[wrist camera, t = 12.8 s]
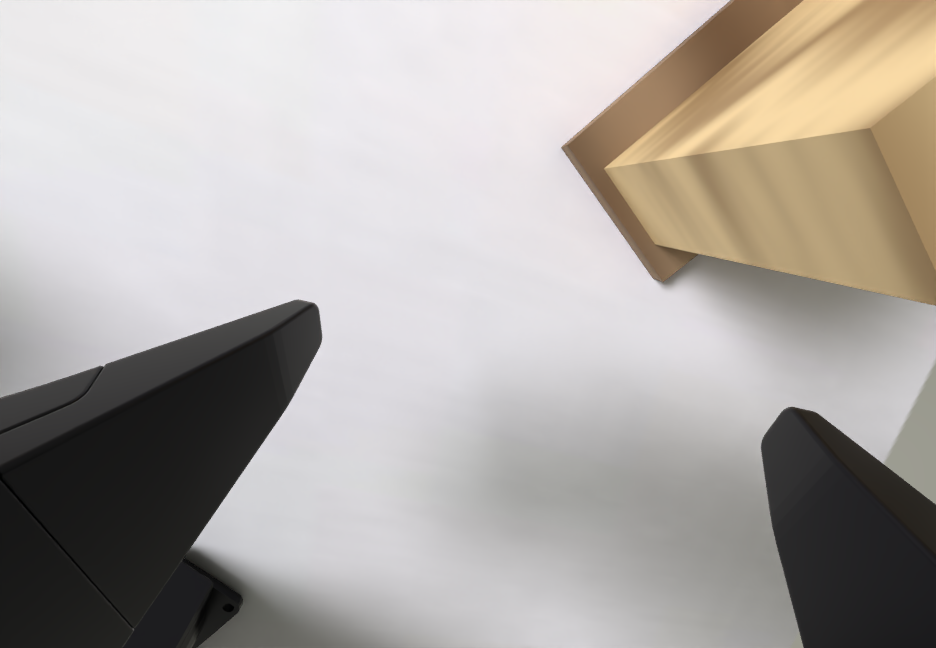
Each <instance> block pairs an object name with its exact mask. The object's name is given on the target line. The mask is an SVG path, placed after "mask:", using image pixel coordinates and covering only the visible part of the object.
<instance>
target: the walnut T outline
mask: <svg viewBox="0 0 936 648" xmlns="http://www.w3.org/2000/svg"><path fill="white" fill-rule="evenodd" d="M802 1H803V0H731V1H729V2H728V3H727V4H726V5H725V6H724V7H722V8H721V9H720V10H719V11H718V12H717V13H716V14H714V15H713V16H712V17H711V18H710V19H709V20H708V21H706V22H705V23H704V24H703V25H702V26H701V27H699V28H698V29H697V30H696V31H695V32H694V33H693V34H691V35H690V36H689V37H688V38H687V39H686V40H684V41H683V42H682V43H681V44H680V45H679V46H678V47H676V48H675V49H674V50H673V51H672V52H671V53H669V54H668V55H667V56H666V57H665V58H664V59H663V60H661V61H660V62H659V63H658V64H657V65H656V66H654V67H653V68H652V69H651V70H650V71H649V72H648V73H646V74H645V75H644V76H643V77H642V78H641V79H639V80H638V81H637V82H636V83H635V84H634V85H633V86H631V87H630V88H629V89H628V90H627V91H626V92H625V93H623V94H622V95H621V96H620V97H619V98H618V99H616V100H615V101H614V102H613V103H612V104H611V105H610V106H608V107H607V108H606V109H605V110H604V111H603V112H601V113H600V114H599V115H598V116H597V117H596V118H595V119H593V120H592V121H591V122H590V123H589V124H588V125H586V126H585V127H584V128H583V129H582V130H581V131H580V132H578V133H577V134H576V135H575V136H574V137H573V138H571V139H570V140H569V141H568V142H567V143H566V144H565V145H563V146H562V147H561V148H562V149H563V151H564V152H565V154H566V155H567V156H568V158H569V159H570V161H571V162H572V164H573V165H574V166H575V168H576V169H577V171H578V172H579V174H580V175H581V176H582V178H583V179H584V181H585V182H586V183H587V185H588V186H589V188H590V189H591V191H592V192H593V193H594V195H595V196H596V198H597V199H598V201H599V202H600V203H601V205H602V206H603V208H604V209H605V211H606V212H607V213H608V215H609V216H610V218H611V219H612V221H613V222H614V223H615V225H616V226H617V228H618V229H619V231H620V232H621V233H622V235H623V236H624V238H625V239H626V240H627V242H628V243H629V245H630V246H631V248H632V249H633V250H634V252H635V253H636V255H637V256H638V258H639V259H640V260H641V262H642V263H643V265H644V266H645V268H646V269H647V270H648V272H649V273H650V275H651V276H652V278H653V279H656V280H659V281H661V282H664V281H665V280H666V279H668V278H669V277H670V276H671V275H673V274H674V273H675V272H677V271H678V270H679V269H680V268H682V267H683V266H684V265H685V264H687V263H688V262H689V261H690V260H692V259H693V258H694V257H695V256H697V255H698V254H697V253H692V252H688V251H683V250H679V249H674V248H669V247H665V246H660V245H656V244H654V242H653V241H652V239H651V238H650V236H649V235H648V233H647V232H646V230H645V229H644V227H643V226H642V224H641V223H640V222H639V220H638V219H637V217H636V216H635V214H634V213H633V211H632V210H631V208H630V207H629V205H628V204H627V202H626V201H625V199H624V198H623V196H622V195H621V193H620V192H619V190H618V189H617V187H616V186H615V185H614V183H613V182H612V180H611V179H610V177H609V176H608V174H607V173H606V171H605V170H604V168H605V167H606V166H608V165H609V164H610V163H611V162H612V161H613V160H615V159H616V158H617V157H618V156H619V155H621V154H622V153H623V152H624V151H625V150H627V149H628V148H629V147H630V146H631V145H632V144H634V143H635V142H636V141H637V140H638V139H640V138H641V137H642V136H643V135H644V134H646V133H647V132H648V131H649V130H650V129H651V128H653V127H654V126H655V125H656V124H657V123H659V122H660V121H661V120H662V119H663V118H664V117H666V116H667V115H668V114H669V113H670V112H672V111H673V110H674V109H675V108H676V107H678V106H679V105H680V104H681V103H682V102H683V101H685V100H686V99H687V98H688V97H689V96H691V95H692V94H693V93H694V92H695V91H697V90H698V89H699V88H700V87H701V86H702V85H704V84H705V83H706V82H707V81H708V80H710V79H711V78H712V77H713V76H714V75H716V74H717V73H718V72H719V71H720V70H721V69H723V68H724V67H725V66H726V65H727V64H729V63H730V62H731V61H732V60H733V59H735V58H736V57H737V56H738V55H739V54H740V53H742V52H743V51H744V50H745V49H746V48H748V47H749V46H750V45H751V44H752V43H753V42H755V41H756V40H757V39H758V38H759V37H761V36H762V35H763V34H764V33H765V32H767V31H768V30H769V29H770V28H771V27H772V26H774V25H775V24H776V23H777V22H778V21H780V20H781V19H782V18H783V17H784V16H786V15H787V14H788V13H789V12H790V11H791V10H793V9H794V8H795V7H796V6H797V5H799V4H800V3H801V2H802Z"/></svg>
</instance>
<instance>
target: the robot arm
mask: <svg viewBox="0 0 936 648" xmlns="http://www.w3.org/2000/svg"><path fill="white" fill-rule="evenodd" d="M321 341H322V330H321V322H320V314H319V309H318V306H317V305H316V304H315V303H312V302H307V301H303V300H294V301H291V302H288V303H285V304H282V305H279V306H276V307H273V308H270V309H267V310H264V311H261V312H258V313H255V314H252V315H249V316H246V317H243V318H240V319H238V320H235V321H232V322H229V323H226V324H223V325H220V326H217V327H214V328H211V329H208V330H205V331H202V332H199V333H196V334H193V335H190V336H187V337H184V338H181V339H179V340H176V341H173V342H170V343H167V344H164V345H161V346H158V347H155V348H152V349H149V350H146V351H143V352H140V353H137V354H134V355H131V356H128V357H125V358H123V359H120V360H117V361H114V362H111V363H108V364H106V365H105V366H104V367H103V366H98V367H96V368H93V369H90V370H87V371H84V372H81V373H78V374H75V375H72V376H69V377H66V378H63V379H60V380H57V381H54V382H51V383H47V384H44V385H41V386H38V387H35V388H32V389H28V390H25V391H22V392H18V393H15V394H12V395H8V396H5V397H2V398H0V648H197V647H198V646H199V645H200V644H202V643H203V642H204V641H205V640H206V639H208V638H209V637H210V636H211V635H212V634H213V633H215V632H216V631H217V630H218V629H219V628H220V627H222V626H223V625H224V624H225V623H226V622H227V621H229V620H230V619H231V618H232V617H233V616H234V615H236V614H237V613H238V611H239V610H240V607H241V605H242V603H243V599H242V597H241V596H240V595H239V594H238V593H236V592H235V591H233V590H232V589H230V588H229V587H227V586H226V585H224V584H223V583H221V582H220V581H218V580H217V579H215V578H213V577H212V576H210V575H209V574H207V573H206V572H204V571H203V570H201V569H200V568H198V567H197V566H195V565H194V564H192V563H190V562H189V561H187V560H186V559H184V557H185V555H186V554H187V552H188V551H189V549H190V548H191V546H192V545H193V544H194V542H195V541H196V539H197V538H198V536H199V535H200V533H201V532H202V530H203V529H204V528H205V526H206V525H207V523H208V522H209V520H210V519H211V517H212V516H213V514H214V513H215V512H216V510H217V509H218V507H219V506H220V504H221V503H222V501H223V500H224V498H225V497H226V496H227V494H228V493H229V491H230V490H231V488H232V487H233V485H234V484H235V482H236V481H237V480H238V478H239V477H240V475H241V474H242V472H243V471H244V469H245V468H246V466H247V465H248V464H249V462H250V461H251V459H252V458H253V456H254V455H255V453H256V452H257V450H258V449H259V448H260V446H261V445H262V443H263V442H264V440H265V439H266V437H267V436H268V434H269V433H270V432H271V430H272V429H273V427H274V426H275V424H276V423H277V421H278V420H279V418H280V417H281V416H282V414H283V413H284V411H285V409H286V408H287V406H288V405H289V403H290V401H291V400H292V398H293V396H294V394H295V392H296V391H297V389H298V387H299V385H300V383H301V381H302V379H303V377H304V376H305V374H306V372H307V370H308V368H309V366H310V364H311V362H312V361H313V359H314V357H315V355H316V353H317V351H318V349H319V347H320V345H321ZM761 452H762V459H763V466H764V473H765V480H766V487H767V494H768V501H769V509H770V515H771V521H772V527H773V531H774V536H775V540H776V544H777V548H778V552H779V555H780V559H781V563H782V567H783V571H784V575H785V578H786V582H787V586H788V590H789V594H790V597H791V601H792V605H793V609H794V613H795V616H796V620H797V624H798V628H799V632H800V636H801V639H802V643H803V647H804V648H936V505H935V504H934V503H933V502H932V501H930V500H929V499H928V498H926V497H925V496H924V495H922V494H921V493H920V492H919V491H917V490H916V489H915V488H913V487H912V486H911V485H910V484H908V483H907V482H906V481H904V480H903V479H902V478H901V477H899V476H898V475H897V474H895V473H894V472H893V471H891V470H890V469H889V468H888V467H886V466H885V465H884V464H882V463H881V462H880V461H879V460H877V459H876V458H875V457H873V456H872V455H871V454H869V453H868V452H867V451H866V450H864V449H863V448H862V447H860V446H859V445H858V444H857V443H855V442H854V441H853V440H851V439H850V438H849V437H847V436H846V435H845V434H844V433H842V432H841V431H840V430H838V429H837V428H836V427H835V426H833V425H832V424H831V423H829V422H828V421H827V420H825V419H824V418H823V417H822V416H820V415H819V414H818V413H816V412H813V411H809V410H805V409H800V408H796V407H788V408H786V409H784V410H783V411H782V412H781V414H780V415H779V416H778V418H777V419H776V420H775V422H774V423H773V424H772V426H771V427H770V428H769V430H768V431H767V432H766V434H765V435H764V437H763V439H762V443H761Z"/></svg>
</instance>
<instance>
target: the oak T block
mask: <svg viewBox="0 0 936 648" xmlns="http://www.w3.org/2000/svg"><path fill="white" fill-rule="evenodd" d="M604 170H605V171H606V173H607V174H608V176H609V177H610V179H611V180H612V182H613V183H614V185H615V186H616V187H617V189H618V190H619V192H620V193H621V195H622V196H623V198H624V199H625V201H626V202H627V204H628V205H629V207H630V208H631V210H632V211H633V213H634V214H635V216H636V217H637V219H638V220H639V222H640V223H641V224H642V226H643V227H644V229H645V230H646V232H647V233H648V235H649V236H650V238H651V239H652V241H653V242H654V244H656V245H660V246H665V247H669V248H674V249H679V250H683V251H688V252H692V253H697V254H702V255H706V256H711V257H715V258H720V259H725V260H729V261H734V262H738V263H743V264H748V265H752V266H757V267H761V268H766V269H770V270H775V271H780V272H784V273H789V274H793V275H798V276H803V277H807V278H812V279H816V280H821V281H826V282H830V283H835V284H839V285H844V286H849V287H853V288H858V289H862V290H867V291H872V292H876V293H881V294H885V295H890V296H894V297H899V298H904V299H908V300H913V301H917V302H922V303H927V304H931V305H936V0H803V1H802V2H801V3H800V4H799V5H797V6H796V7H795V8H794V9H793V10H791V11H790V12H789V13H788V14H787V15H786V16H784V17H783V18H782V19H781V20H780V21H778V22H777V23H776V24H775V25H774V26H772V27H771V28H770V29H769V30H768V31H767V32H765V33H764V34H763V35H762V36H761V37H759V38H758V39H757V40H756V41H755V42H753V43H752V44H751V45H750V46H749V47H748V48H746V49H745V50H744V51H743V52H742V53H740V54H739V55H738V56H737V57H736V58H735V59H733V60H732V61H731V62H730V63H729V64H727V65H726V66H725V67H724V68H723V69H721V70H720V71H719V72H718V73H717V74H716V75H714V76H713V77H712V78H711V79H710V80H708V81H707V82H706V83H705V84H704V85H702V86H701V87H700V88H699V89H698V90H697V91H695V92H694V93H693V94H692V95H691V96H689V97H688V98H687V99H686V100H685V101H683V102H682V103H681V104H680V105H679V106H678V107H676V108H675V109H674V110H673V111H672V112H670V113H669V114H668V115H667V116H666V117H664V118H663V119H662V120H661V121H660V122H659V123H657V124H656V125H655V126H654V127H653V128H651V129H650V130H649V131H648V132H647V133H646V134H644V135H643V136H642V137H641V138H640V139H638V140H637V141H636V142H635V143H634V144H632V145H631V146H630V147H629V148H628V149H627V150H625V151H624V152H623V153H622V154H621V155H619V156H618V157H617V158H616V159H615V160H613V161H612V162H611V163H610V164H609V165H608V166H606V167H605V168H604Z"/></svg>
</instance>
